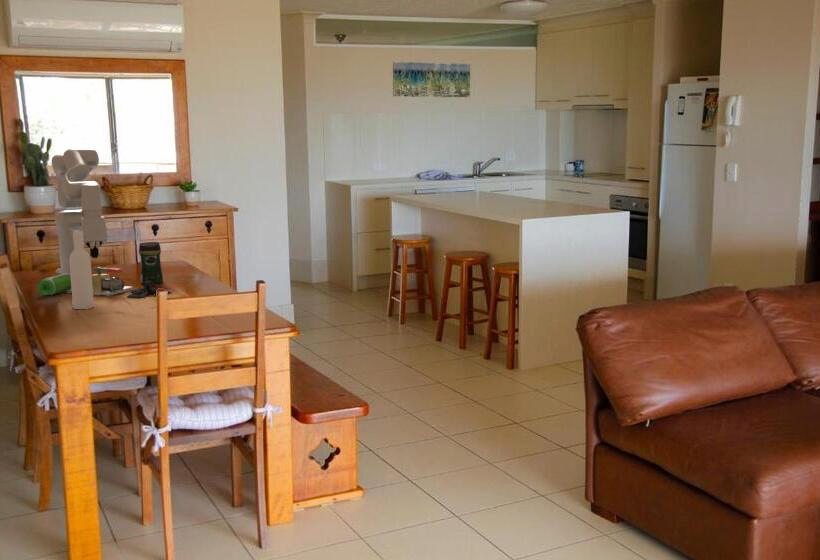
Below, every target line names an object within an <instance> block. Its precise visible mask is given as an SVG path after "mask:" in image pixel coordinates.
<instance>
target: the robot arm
mask: <svg viewBox="0 0 820 560" xmlns="http://www.w3.org/2000/svg"><path fill="white" fill-rule="evenodd" d="M99 163H100V159H99V154H98V152H97V151H96V149H94V148H91V147H88V148H87V147H86V148H84V147H82V148H81V147H79V148H78V147H77V148H75V147H74V148H69V149H66V150H65V151H64V153H60V154H59V153H58V154H55V155H54V156H52V158H51V167H52V170H53V173H54V174H55V176H56V184H57V187H56V188H57V189H56V190H57V201H58V206H60V207H61V208H63V209H65V210H60V211H58V212H57V213H56V214H55V215H54V216H55V217H54V221H55V226H56V229H57V231H56V232H57V235H58V245H59V258H60V259H59V260H60V268H59V267H58V268H57V269H56V270H55V273H56V274H63V273H69V274H70V264H69V258H70V254H71V253H72V252H73V251H74V240H73V232H75V231H82V232H83V235H84V236H83V240H84V246H87V247H88V248H89V255H90V257H91V258H92V259H98V257H99V256H100V255H99V254H100V253H99V249H100V247H101V246H102V245H103V244H106V243H108V231H107V226H106V225H107V224H106V219H105V216H102V215H103V214H102V198H101V197H102V196H101V194H102V188H101V185H100V183H99V182H97V181H93V180H91V181H90V180H89V181H88V180H87V181H85V180H86V179H87V178H88V177H89V175H90V173H92V172H93V171H95V170H96V168H97V167H98V166H99ZM78 208H79V209H78ZM93 243H94V244H93Z"/></svg>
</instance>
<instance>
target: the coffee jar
mask: <svg viewBox="0 0 820 560" xmlns="http://www.w3.org/2000/svg"><path fill="white" fill-rule="evenodd" d="M138 245H139V246H138V254H139V256H140V283H141V284H143V285H145V282H146V281H151V282H153V283H154V284H155V285H156V284H161V283H163V282H164V278H163V270H162V265H161V264H162V263H161V253H162V249H161V245H160V242H158V241H145V242H140V243H139V244H138Z"/></svg>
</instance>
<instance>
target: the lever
mask: <svg viewBox="0 0 820 560" xmlns="http://www.w3.org/2000/svg"><path fill="white" fill-rule="evenodd" d="M93 269H94V272H96V274H102V272H107V273H113V274H115V273H116V274H120V273H123V268H120V267H119V268H117V267H104V266H94V267H93Z"/></svg>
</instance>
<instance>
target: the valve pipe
mask: <svg viewBox="0 0 820 560" xmlns="http://www.w3.org/2000/svg"><path fill="white" fill-rule="evenodd" d="M92 286H93V294H94V295H93V296H99V295H106V296H105V297H111V296H110V295H112V296H114V294H115V295H119V294H122V293H126V292H129V290H130V291H133V290H134V286H129V285H128V286H127V285H125V281H124V280H123V279H120V277H117V276H113V277H110V273H101V274H97V273H94V274H92ZM132 289H133V290H132ZM125 291H126V292H125ZM65 292H66V294H71V293H72V290H71V289H69V290H66V291H65ZM118 293H119V294H118Z"/></svg>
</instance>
